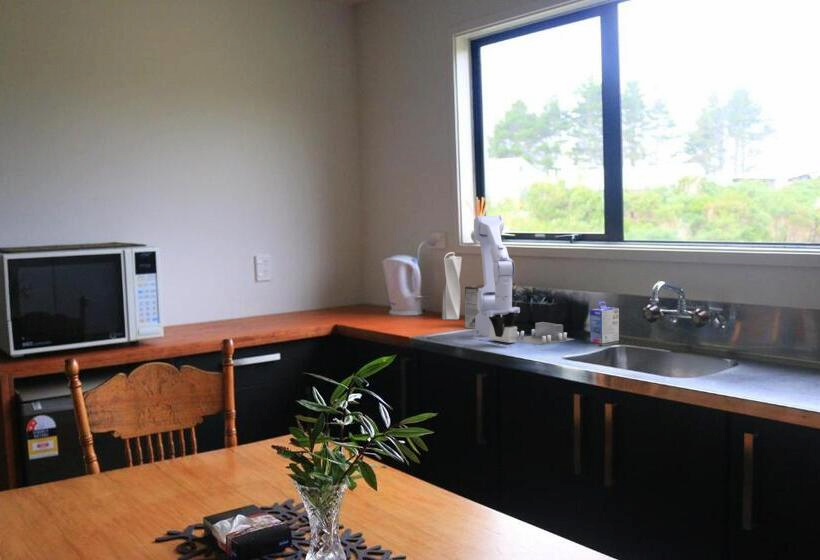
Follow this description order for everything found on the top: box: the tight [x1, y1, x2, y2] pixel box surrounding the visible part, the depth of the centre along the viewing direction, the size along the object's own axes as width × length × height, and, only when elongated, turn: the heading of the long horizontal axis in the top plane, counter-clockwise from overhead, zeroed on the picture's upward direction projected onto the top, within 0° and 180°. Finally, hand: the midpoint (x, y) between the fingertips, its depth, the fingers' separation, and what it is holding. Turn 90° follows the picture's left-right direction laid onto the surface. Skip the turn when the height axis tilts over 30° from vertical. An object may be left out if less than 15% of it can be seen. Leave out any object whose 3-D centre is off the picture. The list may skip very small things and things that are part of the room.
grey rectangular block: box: [489, 324, 518, 344], centre depth 269 cm, size 9×4×5 cm, turn 40°
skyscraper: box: [441, 251, 463, 321], centre depth 332 cm, size 8×8×28 cm
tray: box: [516, 328, 576, 346], centre depth 275 cm, size 15×18×4 cm
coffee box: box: [464, 284, 484, 330], centre depth 309 cm, size 9×6×16 cm
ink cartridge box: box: [589, 300, 620, 347], centre depth 271 cm, size 10×6×14 cm, turn 130°
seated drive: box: [534, 321, 564, 340], centre depth 277 cm, size 9×4×5 cm, turn 40°
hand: (503, 335), depth 269 cm, fingers closed on grey rectangular block, 4 cm apart
